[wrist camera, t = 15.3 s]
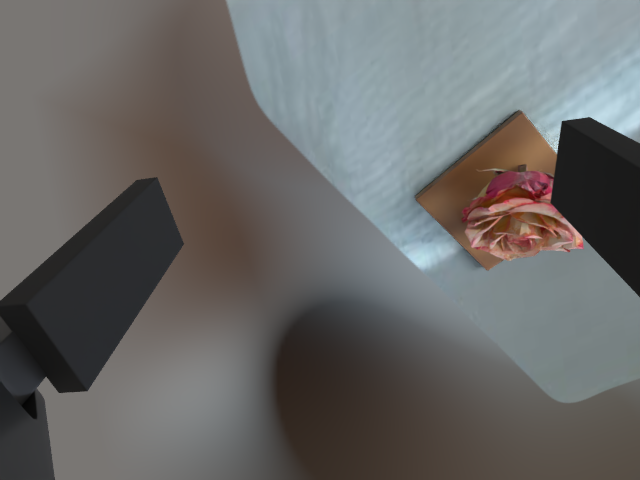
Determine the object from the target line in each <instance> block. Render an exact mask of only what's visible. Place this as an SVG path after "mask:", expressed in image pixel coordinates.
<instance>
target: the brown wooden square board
mask: <svg viewBox="0 0 640 480" xmlns="http://www.w3.org/2000/svg"><path fill="white" fill-rule="evenodd" d="M556 160H557V154H556V153H555V152H554V150H553V149H552V148H551V147H550V145H549V144H548V143H547V142H546V140H545V139H544V138H543V137H542V135H541V134H540V133H539V132H538V130H537V129H536V128H535V127H534V125H533V124H532V123H531V122H530V120H529V119H528V118H527V117H526V115H525V114H524V113H523V112H522V111H520V110H519V111H518V112H516V113H515V114H514V115H513V116H512V117H510V118H509V119H508V120H507V121H506V122H504V123H503V124H502V125H501V126H500V127H498V128H497V129H496V130H495V131H493V132H492V133H491V134H490V135H489V136H487V137H486V138H485V139H484V140H483V141H481V142H480V143H479V144H478V145H477V146H475V147H474V148H473V149H472V150H470V151H469V152H468V153H467V154H466V155H464V156H463V157H462V158H461V159H460V160H458V161H457V162H456V163H455V164H454V165H452V166H451V167H450V168H449V169H447V170H446V171H445V172H444V173H443V174H441V175H440V176H439V177H438V178H437V179H435V180H434V181H433V182H432V183H431V184H429V185H428V186H427V187H426V188H424V189H423V190H422V191H421V192H420V193H418V194H417V195H416V196H415V199H416V201H417V202H418V203H419V204H420V205H421V206H422V207H423V208H424V209H425V210H426V211H427V212H428V213H429V214H430V215H431V216H432V217H433V218H435V219H436V220H437V221H438V222H439V223H440V224H441V225H442V226H443V227H444V228H445V229H446V230H447V231H448V232H449V233H450V234H451V235H452V236H453V237H454V238H455V239H456V240H457V241H458V242H459V243H460V244H461V245H462V246H463V247H464V248H465V249H466V250H467V251H468V252H469V253H470V254H471V255H472V256H473V257H474V258H475V259H476V260H477V261H478V262H479V263H480V264H481V265H482V266H483V267H484V268H485V269H486V270H487V271H488V270H489V269H491V268H492V267H494V266H495V265H497V264H499V263H500V262H502V261H503V260H505V259H502V258H499V257H496V256H494V255H493V254H491V253H490V252H486V251H483V250H480V249H478V250H477V249H475V248H472V247H471V246H470V245H471V243H470V241H469V239H468V238H467V236H466V234H465V232H464V231H465V230H466V229H467V225H468V222H469V221H466V222H464V223H463V221H462V218H463V217H464V215H463V213H461V212H462V211H463V209H464V208H465V207H470V204H471V203H472V202H473V201H474V200H475V199H474V198H476V197H478V195H479V194H480V192H481V191H482V189H483V188H484V187H486V186H487V184H488V183H489V182H490V181H491V180H492V179H493V178H494V177H496V175H494V174H493V172H492V171H482V170H488V169H494V168H498V169H505V170H509V171H513V172H518V165H524V164H527V168H528V171H539V170H541V171H540V172H545V173H551V174H552V175H553V176H554V173H555V166H556ZM476 169H477V170H479V171H480V172H478V171H477V170H476ZM553 180H554V179H553ZM472 199H474V200H472Z"/></svg>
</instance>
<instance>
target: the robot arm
mask: <svg viewBox="0 0 640 480" xmlns="http://www.w3.org/2000/svg"><path fill="white" fill-rule="evenodd" d="M550 203H551V204H552V205H553V206H554V207H555V208H556V209H557V210H558V212H559V213H560V214H561V215H562V216H563V217H564V218H565V219H566V220H567V221H568V222H569V223H570V224H571V225H572V226H573V227H574V228H575V229H576V230H577V232H578V233H579V234H580V235H581V236H582V237H583V238H584V239H585V240H586V241H587V242H588V243H589V244H590V245H591V246H592V247H593V248H594V249H595V250H596V251H597V253H598V254H599V255H600V256H601V257H602V258H603V259H604V260H605V261H606V262H607V263H608V264H609V265H610V266H611V267H612V268H613V269H614V270H615V271H616V273H617V274H618V275H619V276H620V277H621V278H622V279H623V280H624V281H625V282H626V283H627V284H628V285H629V286H630V287H631V288H632V289H633V290H634V291H635V292H636V294H637V295H638V296H639V297H640V143H638V142H636V141H634V140H632V139H630V138H628V137H626V136H624V135H622V134H620V133H619V132H617V131H615V130H613V129H611V128H609V127H607V126H605V125H603V124H601V123H599V122H597V121H596V120H594V119H592V118H590V117H588V118H581V119H574V120H567V121H562V125H561V132H560V139H559V146H558V153H557V160H556V166H555V173H554V180H553V187H552V194H551V201H550ZM183 244H184V243H183V241H182V238H181V236H180V233H179V231H178V228H177V226H176V224H175V221H174V218H173V216H172V213H171V211H170V208H169V206H168V203H167V201H166V198H165V196H164V193H163V191H162V188H161V186H160V183H159V181H158V178H157V177H156V178H149V179H141V180H136V181H135V182H134V183H133V184H132V185H131V186H130V187H128V188H127V189H126V190H125V191H124V192H123V193H122V194H120V196H118V197H117V198H116V199H115V200H114V201H113V202H112V203H110V204H109V205H108V206H107V207H106V208H105V209H104V210H102V211H101V212H100V213H99V214H98V215H97V216H96V217H94V218H93V219H92V220H91V221H90V222H89V223H88V224H87V225H85V226H84V227H83V228H82V229H81V230H80V231H79V232H78V233H76V234H75V235H74V236H73V237H72V238H71V239H70V240H69V241H67V242H66V243H65V244H64V245H63V246H62V247H61V248H59V249H58V250H57V251H56V252H55V253H54V254H53V255H52V256H50V257H49V258H48V259H47V260H46V261H45V262H44V263H43V264H41V265H40V266H39V267H38V268H37V269H36V270H35V271H33V272H32V273H31V274H30V275H29V276H28V277H27V278H26V279H24V280H23V281H22V282H21V283H20V284H19V285H18V286H16V287H15V288H14V289H13V290H12V291H11V292H10V293H9V294H7V295H6V296H5V297H4V298H3V299H2V300H1V301H0V480H55V477H54V470H53V463H52V454H51V447H50V439H49V431H48V423H47V416H46V408H45V401H44V398H43V396H42V395H41V393H40V392H39V391H38V390H37V387H38V386H39V385H40V383H41V382H42V381H43V379H44V378H45V377H47V378H48V379H49V381H50V382H51V383H52V384H53V386H54V387H55V388H56V390H57V391H58V392H59V393H65V392H80V391H88V389H89V388H90V386H91V385H92V383H93V382H94V380H95V379H96V377H97V376H98V374H99V373H100V371H101V370H102V368H103V366H104V365H105V363H106V362H107V360H108V359H109V357H110V356H111V354H112V353H113V351H114V350H115V348H116V347H117V345H118V344H119V342H120V340H121V339H122V338H123V336H124V335H125V333H126V331H127V330H128V329H129V327H130V325H131V324H132V322H133V321H134V319H135V318H136V316H137V315H138V313H139V312H140V310H141V309H142V307H143V306H144V304H145V303H146V301H147V300H148V298H149V296H150V295H151V293H152V292H153V290H154V289H155V287H156V286H157V284H158V283H159V281H160V280H161V278H162V277H163V275H164V274H165V272H166V271H167V269H168V267H169V266H170V265H171V263H172V261H173V260H174V258H175V257H176V255H177V254H178V252H179V251H180V249H181V248H182V246H183Z"/></svg>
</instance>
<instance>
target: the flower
mask: <svg viewBox="0 0 640 480" xmlns="http://www.w3.org/2000/svg"><path fill="white" fill-rule="evenodd" d="M476 170H477V169H476ZM477 171H478V172H480V171H479V170H477ZM482 171H492V172H493V174H494V175H496V177H494V178H493V179H492V180H491V181H490V182H489V183H488V184H487V186H486V187H484V188H483V189H482V191H481V192H480V194H479V195H478V197H476V198H474V199H475V200H474V199H472V200H474V201H473V202H472V203H471V204H470V207H465V208H464V209H463V211H462V212H461V213H463V215H464V217H463V218H462V221H463V223H464V222H466V221H469V222H468V225H467V229H466V230H465V231H464V232H465V234H466V236H467V238H468V239H469V241H470V243H471V245H470V246H471V247H472V248H475V249H477V250H478V249H480V250H483V251H486V252H490V253H491V254H493V255H494V256H496V257H499V258H502V259H505V260H507V261H511V260H512V259H514V258H522V257H530V256H535V255H536V254H537V253H538V252H539V251H540V250H557V251H564V252H570V250H568V249H574V248H577V249H584V248H583V241H582V236H581V235H580V234H579V233H578V232H577V230H576V229H575V228H574V227H573V226H572V225H571V224H570V223H569V222H568V221H567V220H566V219H565V218H564V217H563V216H562V215H561V214H560V213H559V212H558V210H557V209H556V208H555V207H554V206H553V205H552V204H551V203H550V201H551V194H552V187H553V179H554V176H553V175H552V174H551V173H545V172H540V171H541V170H539V171H528V168H527V164H524V165H518V172H513V171H509V170H505V169H498V168H494V169H488V170H482ZM563 247H564V248H563Z"/></svg>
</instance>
